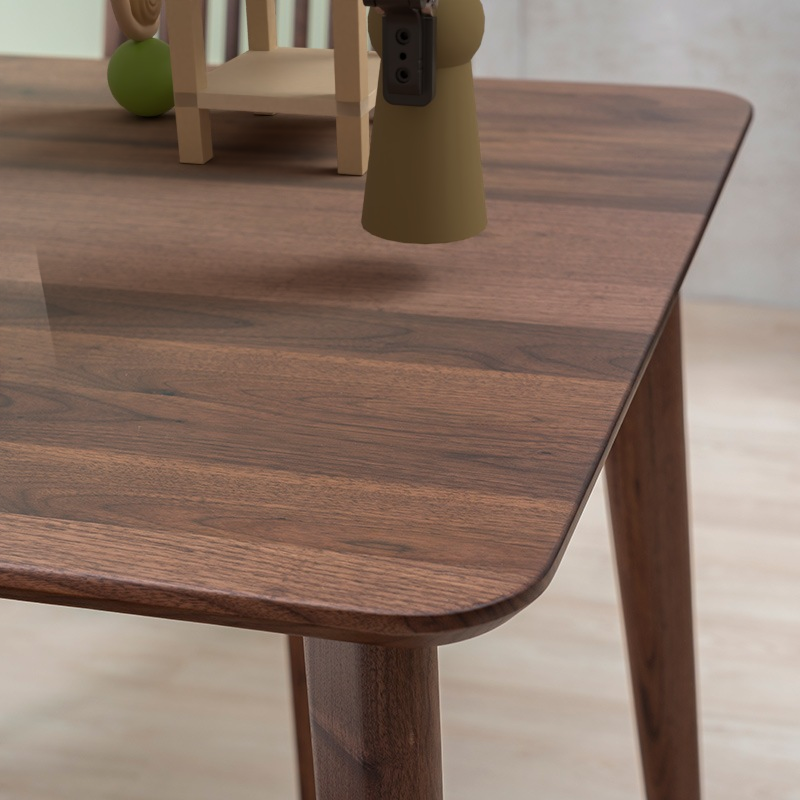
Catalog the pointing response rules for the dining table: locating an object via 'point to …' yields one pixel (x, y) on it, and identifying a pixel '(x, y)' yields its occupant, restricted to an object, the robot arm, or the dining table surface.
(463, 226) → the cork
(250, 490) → the dining table surface
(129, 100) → the snail figurine
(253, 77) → the rack
